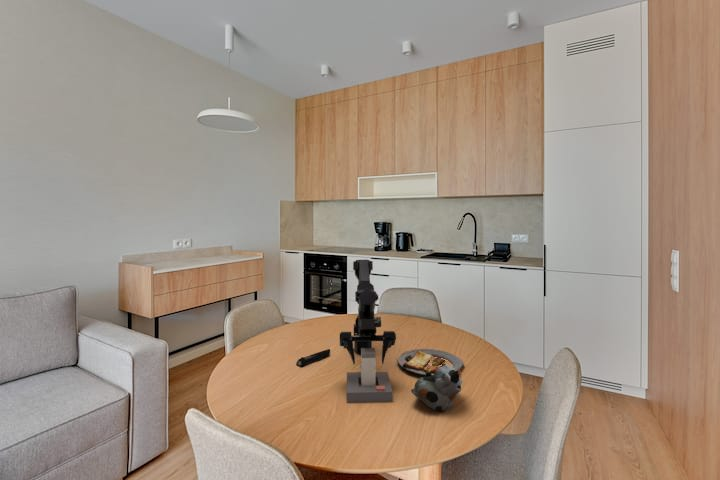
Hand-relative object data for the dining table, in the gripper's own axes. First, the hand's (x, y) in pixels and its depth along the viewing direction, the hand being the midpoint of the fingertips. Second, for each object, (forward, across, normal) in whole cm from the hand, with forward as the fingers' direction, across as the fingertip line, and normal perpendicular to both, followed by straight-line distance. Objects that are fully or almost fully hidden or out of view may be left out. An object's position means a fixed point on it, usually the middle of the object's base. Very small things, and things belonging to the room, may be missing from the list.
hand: (368, 363), depth 109 cm
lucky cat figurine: (+11, +21, +3) cm, 24 cm away
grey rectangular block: (+5, 0, +7) cm, 9 cm away
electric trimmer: (-11, -20, +26) cm, 34 cm away
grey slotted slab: (+6, 0, +8) cm, 10 cm away
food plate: (-7, +25, +21) cm, 33 cm away
